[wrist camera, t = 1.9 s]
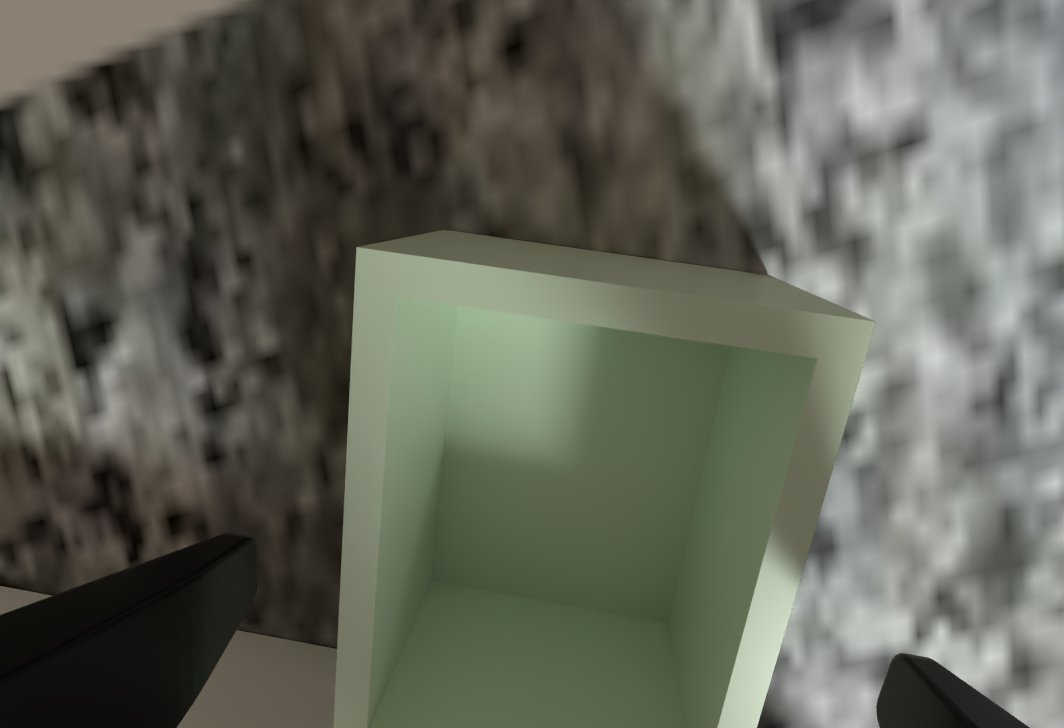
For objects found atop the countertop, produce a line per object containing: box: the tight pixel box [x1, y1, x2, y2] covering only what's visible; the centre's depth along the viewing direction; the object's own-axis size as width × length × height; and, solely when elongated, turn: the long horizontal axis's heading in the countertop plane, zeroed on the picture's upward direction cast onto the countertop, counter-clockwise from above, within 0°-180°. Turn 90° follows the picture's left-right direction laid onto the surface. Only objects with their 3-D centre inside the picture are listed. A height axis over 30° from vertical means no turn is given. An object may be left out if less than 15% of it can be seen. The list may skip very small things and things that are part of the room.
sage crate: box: [333, 230, 876, 728], centre depth 12 cm, size 7×9×5 cm
